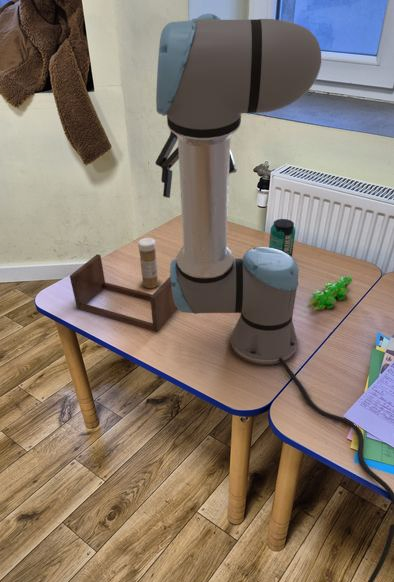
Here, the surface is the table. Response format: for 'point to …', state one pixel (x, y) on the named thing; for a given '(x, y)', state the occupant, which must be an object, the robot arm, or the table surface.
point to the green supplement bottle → (282, 236)
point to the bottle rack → (92, 282)
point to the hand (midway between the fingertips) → (191, 199)
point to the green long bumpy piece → (331, 293)
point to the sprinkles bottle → (148, 262)
